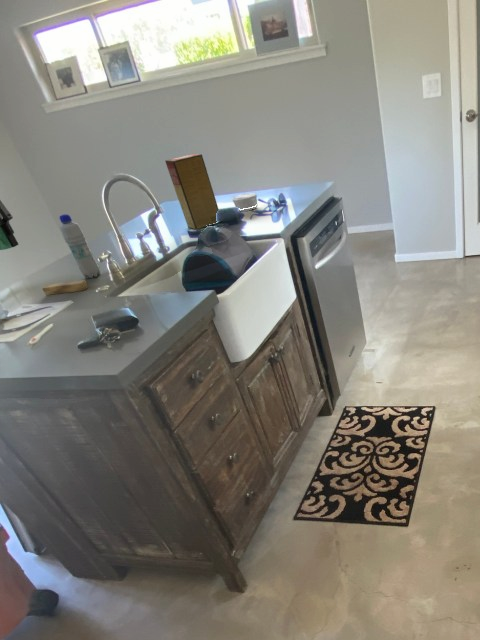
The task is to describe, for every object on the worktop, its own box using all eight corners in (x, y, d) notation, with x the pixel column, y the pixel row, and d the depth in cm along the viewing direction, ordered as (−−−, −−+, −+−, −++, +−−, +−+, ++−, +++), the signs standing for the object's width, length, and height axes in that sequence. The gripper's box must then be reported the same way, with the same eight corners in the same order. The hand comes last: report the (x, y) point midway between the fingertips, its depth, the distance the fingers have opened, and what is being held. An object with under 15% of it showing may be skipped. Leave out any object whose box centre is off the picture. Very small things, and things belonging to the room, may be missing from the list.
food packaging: (213, 219, 232) (193, 153, 216) (223, 221, 227) (203, 153, 210) (186, 227, 227) (163, 160, 210) (196, 230, 221) (173, 160, 204)
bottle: (99, 277, 184) (70, 215, 170) (81, 280, 184) (50, 218, 170) (104, 271, 189) (76, 210, 175) (86, 275, 189) (56, 213, 175)
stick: (46, 295, 176) (42, 288, 174) (50, 292, 178) (46, 285, 176) (84, 290, 174) (81, 283, 173) (88, 287, 177) (85, 279, 175)
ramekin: (237, 214, 235) (233, 200, 232) (234, 209, 243) (230, 196, 240) (261, 208, 237) (257, 195, 233) (257, 204, 245) (254, 192, 241)
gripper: (-5, 157, 154) (38, 240, 169) (-71, 168, 156) (-22, 248, 171) (-20, 162, 148) (26, 246, 163) (-88, 173, 150) (-36, 255, 165)
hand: (1, 247), depth 167 cm, fingers closed on mug, 9 cm apart
